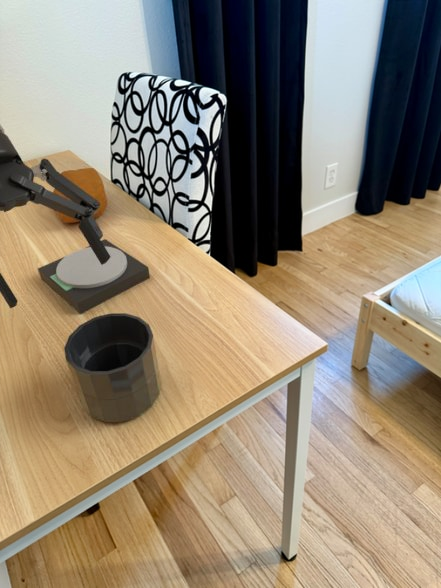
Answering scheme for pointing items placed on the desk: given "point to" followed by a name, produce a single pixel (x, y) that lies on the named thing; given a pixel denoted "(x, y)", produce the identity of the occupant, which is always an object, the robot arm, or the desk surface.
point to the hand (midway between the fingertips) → (63, 281)
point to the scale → (93, 276)
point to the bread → (85, 189)
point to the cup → (114, 366)
